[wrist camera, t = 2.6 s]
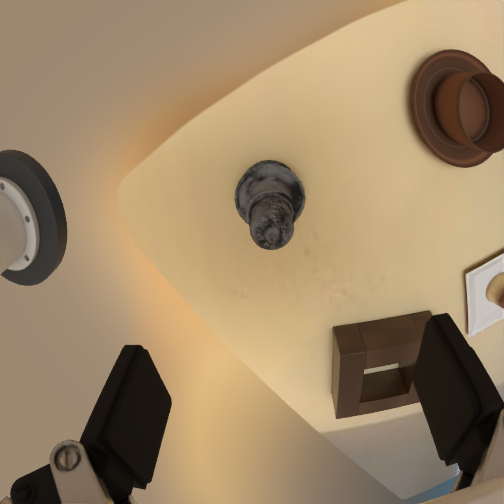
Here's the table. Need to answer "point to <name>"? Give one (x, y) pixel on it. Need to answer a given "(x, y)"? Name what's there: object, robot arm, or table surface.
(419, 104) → the cup and saucer
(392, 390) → the holder
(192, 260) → the table surface
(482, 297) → the dessert
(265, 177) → the chess piece
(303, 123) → the table surface
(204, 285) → the table surface
